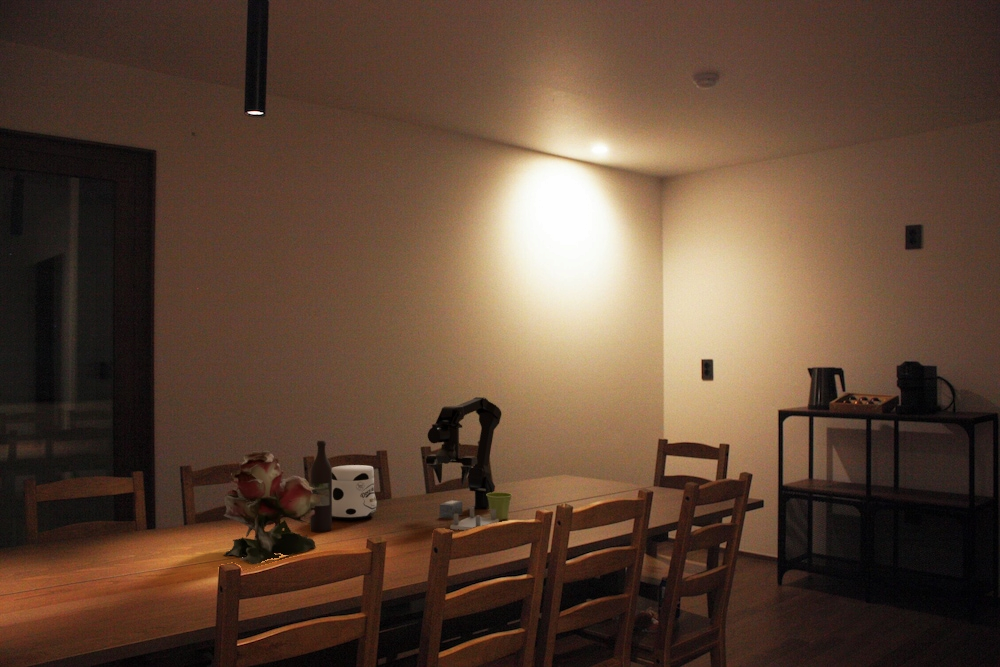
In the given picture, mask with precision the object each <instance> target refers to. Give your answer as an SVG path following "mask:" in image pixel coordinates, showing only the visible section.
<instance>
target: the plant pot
mask: <svg viewBox="0 0 1000 667" xmlns="http://www.w3.org/2000/svg"><path fill="white" fill-rule="evenodd" d="M486 496H487V497H488V501H489V508H488V509H489V514H490V515H489V516H490V517H489V518H491V509H496V519H499V521H503V520H508V517H509V510H510V503H511V500H512V497H513V494H512V493H510V492H503V491H499V492H498V491H496V492H495V491H494V492H492V493H488V494H486Z"/></svg>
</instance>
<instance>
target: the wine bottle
mask: <svg viewBox="0 0 1000 667" xmlns="http://www.w3.org/2000/svg"><path fill="white" fill-rule="evenodd" d="M326 445H327V442H326V440H324V439H322V440H317V441H316V446H317V452H316V456H315V459H314V461H313V463H312V466H311V468H310V487H312V488H315V489H314V490H312V493H313V494H316V495H317V496H318V497H319V498H320V501H319V502H318V503H316V505H315V506H314V508H312V507H310V509H309V510H314V511H315V513H314V515H312V516H311V517H310V519H309V520H310V522H309V523H311V524H309V525H310V526H309V528H310V529H309V530H310V532H313V531H314V532H313V533H325V532H326V531H327V532H329V531H332V528H333V524H332V523H333V517H332V465H331V463H330V461H329V459H328V457H327V453H326ZM327 532H326V533H327Z"/></svg>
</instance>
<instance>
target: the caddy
mask: <svg viewBox="0 0 1000 667" xmlns="http://www.w3.org/2000/svg"><path fill="white" fill-rule="evenodd" d="M499 521H500V520H499V519H496V509H491V517H481V515H475V508H474V507H472V506H469V516H468V517H466V518H463V519H462V520H459V516H458V514H454V518H453V524H450V528H449V529H450V530H458V529H459V530H460V531H467V530H466V529H470V528H473V527H477V526H482V525H487V524H491V523H494V522H498V523H499ZM459 530H458V531H459Z"/></svg>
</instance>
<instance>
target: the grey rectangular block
mask: <svg viewBox="0 0 1000 667" xmlns="http://www.w3.org/2000/svg"><path fill="white" fill-rule="evenodd" d="M454 514H458V517H459V516H461V515H463V500H453V499H452V500H451V499H449V500H447V501H445V502H443V503H440V504H439V519H447V518H448V520H449V519H450V520H454Z"/></svg>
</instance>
